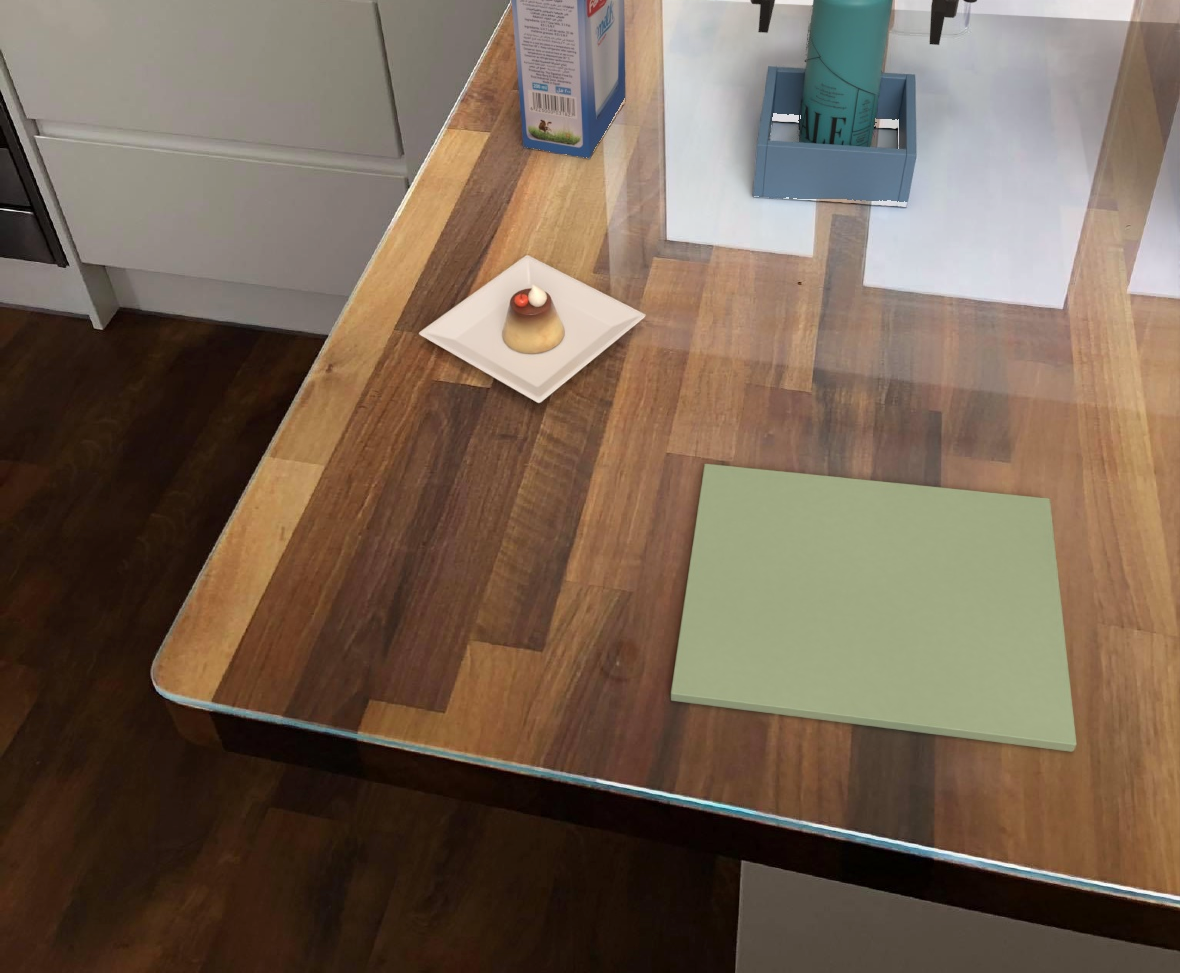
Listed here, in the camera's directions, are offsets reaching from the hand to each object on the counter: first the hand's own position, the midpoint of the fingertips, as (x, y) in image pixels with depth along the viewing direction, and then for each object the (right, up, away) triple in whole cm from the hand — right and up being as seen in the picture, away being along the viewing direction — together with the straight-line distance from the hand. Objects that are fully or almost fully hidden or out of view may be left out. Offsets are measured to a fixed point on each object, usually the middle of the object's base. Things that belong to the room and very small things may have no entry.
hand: (849, 22), depth 97 cm
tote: (0, -9, +8) cm, 12 cm away
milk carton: (-22, -4, +13) cm, 26 cm away
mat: (-4, -44, -23) cm, 50 cm away
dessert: (-25, -26, -6) cm, 36 cm away
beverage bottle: (0, -9, +8) cm, 12 cm away
